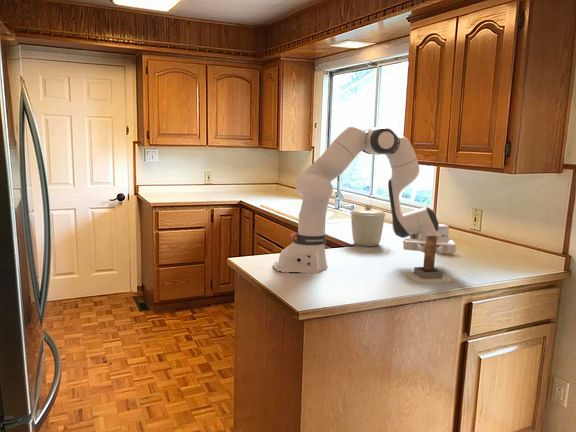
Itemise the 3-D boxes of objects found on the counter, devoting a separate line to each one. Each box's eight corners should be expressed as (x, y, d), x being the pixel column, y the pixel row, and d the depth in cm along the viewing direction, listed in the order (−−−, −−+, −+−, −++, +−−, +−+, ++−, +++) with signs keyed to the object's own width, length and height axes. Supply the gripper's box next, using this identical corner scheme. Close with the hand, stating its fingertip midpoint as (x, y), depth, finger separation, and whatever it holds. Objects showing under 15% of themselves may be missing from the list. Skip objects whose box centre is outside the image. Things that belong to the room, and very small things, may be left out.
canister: (362, 239, 261) (364, 200, 258) (391, 245, 248) (393, 204, 245) (341, 243, 248) (343, 203, 245) (370, 250, 236) (372, 207, 232)
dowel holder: (417, 283, 183) (418, 274, 182) (404, 274, 194) (404, 266, 194) (452, 282, 185) (452, 273, 185) (436, 273, 197) (437, 265, 196)
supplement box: (434, 252, 235) (436, 226, 233) (425, 248, 242) (427, 223, 240) (447, 251, 237) (449, 225, 235) (438, 247, 244) (440, 223, 242)
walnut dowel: (425, 277, 187) (429, 236, 185) (420, 274, 191) (424, 234, 189) (435, 277, 188) (438, 236, 186) (430, 274, 192) (433, 234, 190)
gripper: (403, 233, 203) (402, 240, 189) (455, 237, 197) (457, 244, 184) (402, 248, 204) (401, 255, 190) (454, 252, 198) (456, 260, 185)
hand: (429, 250), depth 187 cm, fingers open, 5 cm apart
